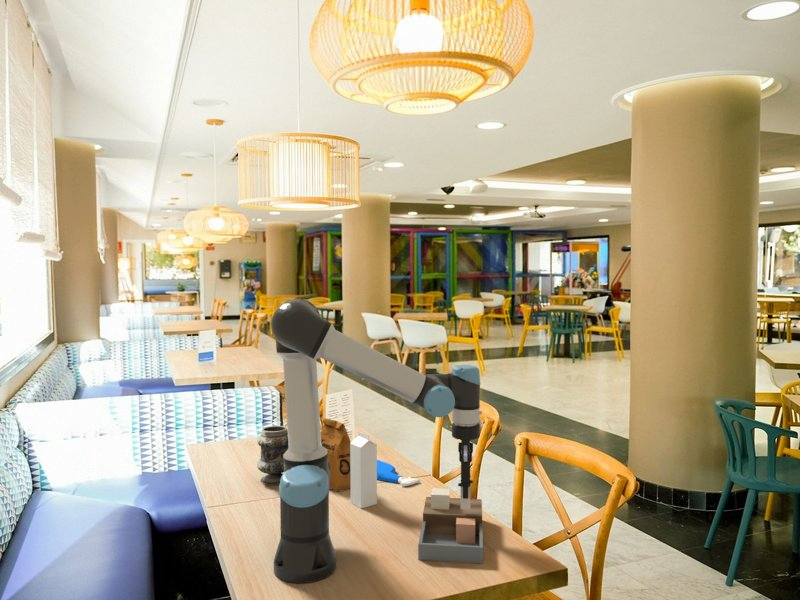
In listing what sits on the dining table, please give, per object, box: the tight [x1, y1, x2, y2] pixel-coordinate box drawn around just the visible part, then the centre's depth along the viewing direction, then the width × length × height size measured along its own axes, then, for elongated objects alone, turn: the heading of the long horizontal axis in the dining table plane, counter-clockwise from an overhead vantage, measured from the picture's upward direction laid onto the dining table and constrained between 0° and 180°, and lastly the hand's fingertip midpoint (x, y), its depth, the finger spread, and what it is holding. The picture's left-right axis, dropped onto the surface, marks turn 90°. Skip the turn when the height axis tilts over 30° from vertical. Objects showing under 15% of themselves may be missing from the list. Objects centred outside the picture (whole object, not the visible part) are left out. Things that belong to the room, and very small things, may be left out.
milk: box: [350, 431, 378, 509], centre depth 186 cm, size 6×6×22 cm
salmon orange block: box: [456, 518, 475, 544], centre depth 161 cm, size 5×5×4 cm
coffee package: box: [320, 417, 352, 492], centre depth 202 cm, size 10×12×22 cm
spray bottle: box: [377, 459, 421, 488], centre depth 211 cm, size 3×11×24 cm
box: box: [417, 520, 484, 564], centre depth 157 cm, size 14×16×4 cm
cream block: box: [430, 487, 451, 510], centre depth 170 cm, size 5×5×4 cm
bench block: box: [422, 496, 483, 536], centre depth 170 cm, size 12×16×6 cm
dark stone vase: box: [256, 425, 289, 486], centre depth 207 cm, size 12×12×18 cm
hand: (465, 508), depth 164 cm, fingers closed
